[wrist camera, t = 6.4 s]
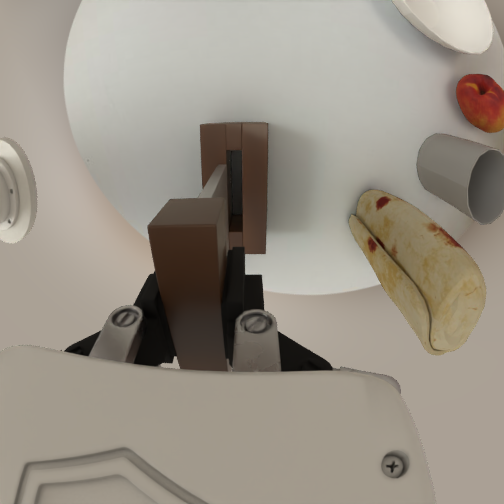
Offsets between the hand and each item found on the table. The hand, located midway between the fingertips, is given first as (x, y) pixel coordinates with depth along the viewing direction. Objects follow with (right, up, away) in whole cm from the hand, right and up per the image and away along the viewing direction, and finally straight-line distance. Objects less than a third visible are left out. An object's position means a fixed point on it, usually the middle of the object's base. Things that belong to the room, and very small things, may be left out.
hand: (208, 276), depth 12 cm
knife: (0, +4, +7) cm, 8 cm away
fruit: (+30, +21, +10) cm, 39 cm away
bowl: (+22, +32, +5) cm, 39 cm away
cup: (+26, +13, +15) cm, 33 cm away
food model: (+16, +6, +19) cm, 26 cm away
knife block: (0, +9, +17) cm, 19 cm away
